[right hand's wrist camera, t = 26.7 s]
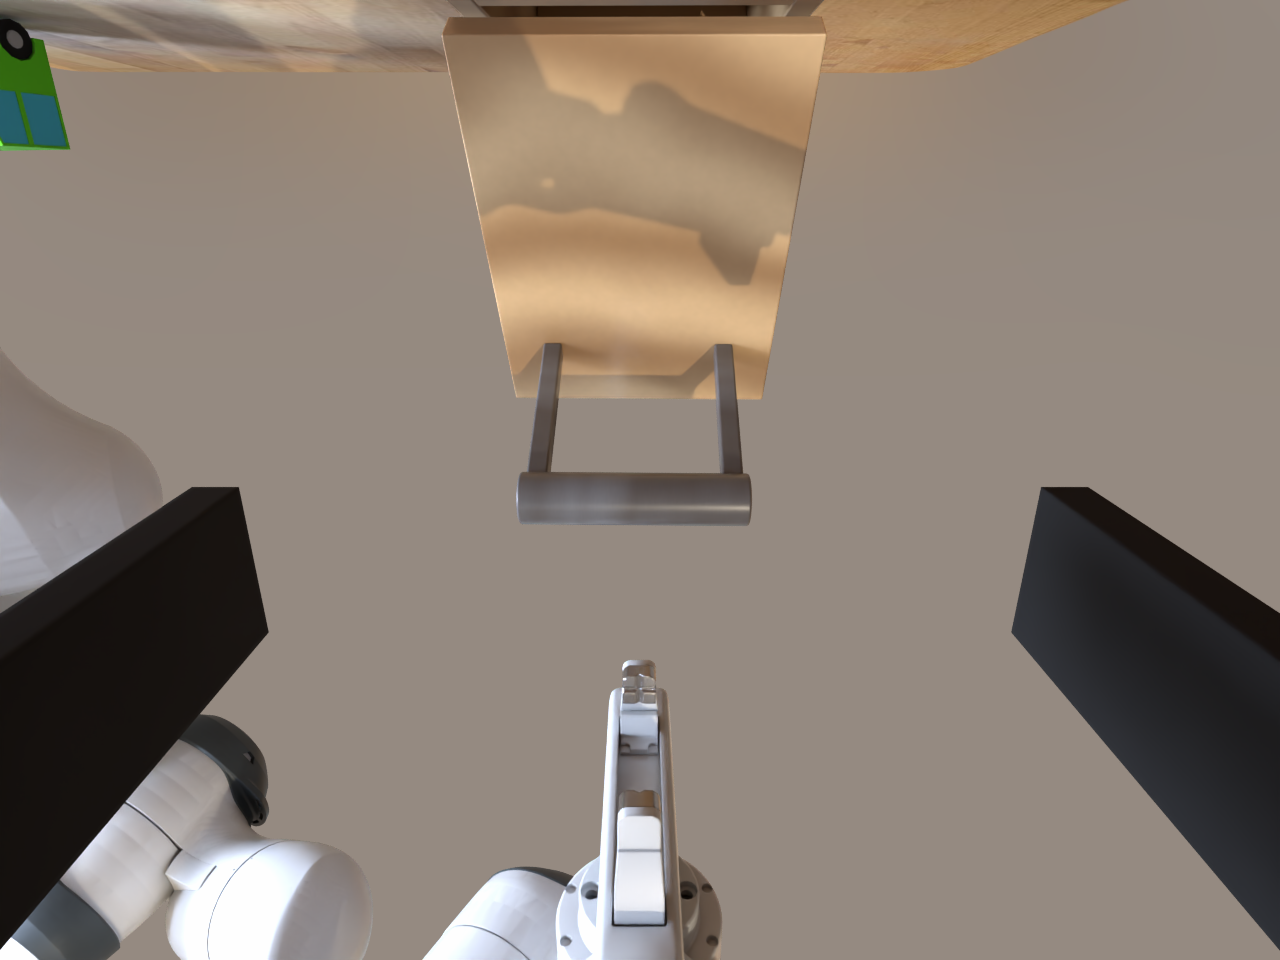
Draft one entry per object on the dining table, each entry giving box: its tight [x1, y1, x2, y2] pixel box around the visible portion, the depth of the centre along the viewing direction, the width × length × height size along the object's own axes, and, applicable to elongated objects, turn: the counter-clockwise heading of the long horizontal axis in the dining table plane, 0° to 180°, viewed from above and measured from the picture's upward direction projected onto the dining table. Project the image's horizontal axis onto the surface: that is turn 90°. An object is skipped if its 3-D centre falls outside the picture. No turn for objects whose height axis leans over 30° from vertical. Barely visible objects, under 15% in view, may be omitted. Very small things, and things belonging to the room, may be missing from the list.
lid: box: [442, 16, 827, 526], centre depth 23 cm, size 14×10×9 cm
